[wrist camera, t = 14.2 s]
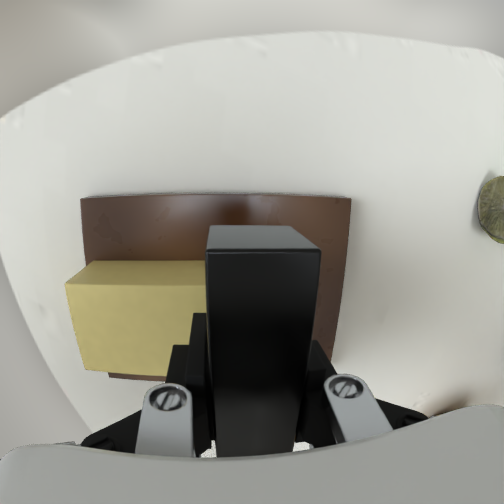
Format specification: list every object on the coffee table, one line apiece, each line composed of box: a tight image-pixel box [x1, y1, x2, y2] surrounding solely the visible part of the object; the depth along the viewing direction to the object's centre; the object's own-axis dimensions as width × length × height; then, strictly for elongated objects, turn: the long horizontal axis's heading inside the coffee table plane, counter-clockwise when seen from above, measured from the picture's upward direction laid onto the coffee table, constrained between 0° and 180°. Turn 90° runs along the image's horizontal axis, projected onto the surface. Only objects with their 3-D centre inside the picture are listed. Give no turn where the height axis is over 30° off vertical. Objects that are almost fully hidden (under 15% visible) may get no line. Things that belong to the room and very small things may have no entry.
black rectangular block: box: [205, 225, 322, 458], centre depth 11 cm, size 2×10×8 cm, turn 179°
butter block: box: [65, 260, 206, 376], centre depth 13 cm, size 7×4×4 cm, turn 88°
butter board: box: [80, 193, 351, 381], centre depth 16 cm, size 14×11×1 cm
